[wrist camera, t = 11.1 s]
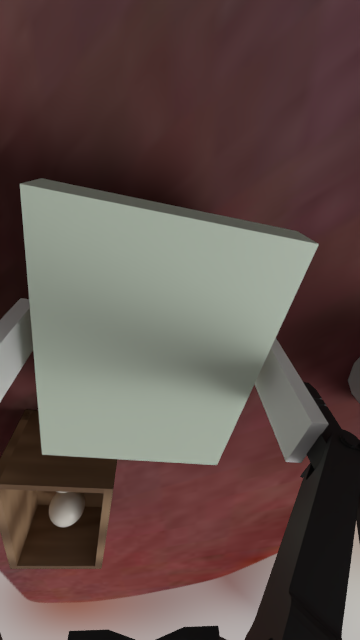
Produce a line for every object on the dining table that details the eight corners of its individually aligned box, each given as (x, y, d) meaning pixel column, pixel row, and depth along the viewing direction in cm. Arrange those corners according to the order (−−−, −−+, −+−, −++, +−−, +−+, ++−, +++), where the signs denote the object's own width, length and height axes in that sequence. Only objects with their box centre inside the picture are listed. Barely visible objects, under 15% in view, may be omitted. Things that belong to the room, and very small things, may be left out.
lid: (41, 178, 11) (19, 183, 9) (297, 231, 13) (318, 244, 11) (52, 426, 18) (42, 454, 17) (212, 438, 20) (216, 465, 18)
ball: (54, 479, 27) (42, 516, 24) (88, 480, 27) (80, 517, 25) (55, 496, 28) (44, 533, 26) (87, 497, 29) (80, 534, 26)
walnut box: (25, 409, 23) (-13, 483, 18) (122, 417, 24) (113, 489, 19) (35, 497, 30) (10, 568, 25) (110, 500, 31) (101, 568, 26)
